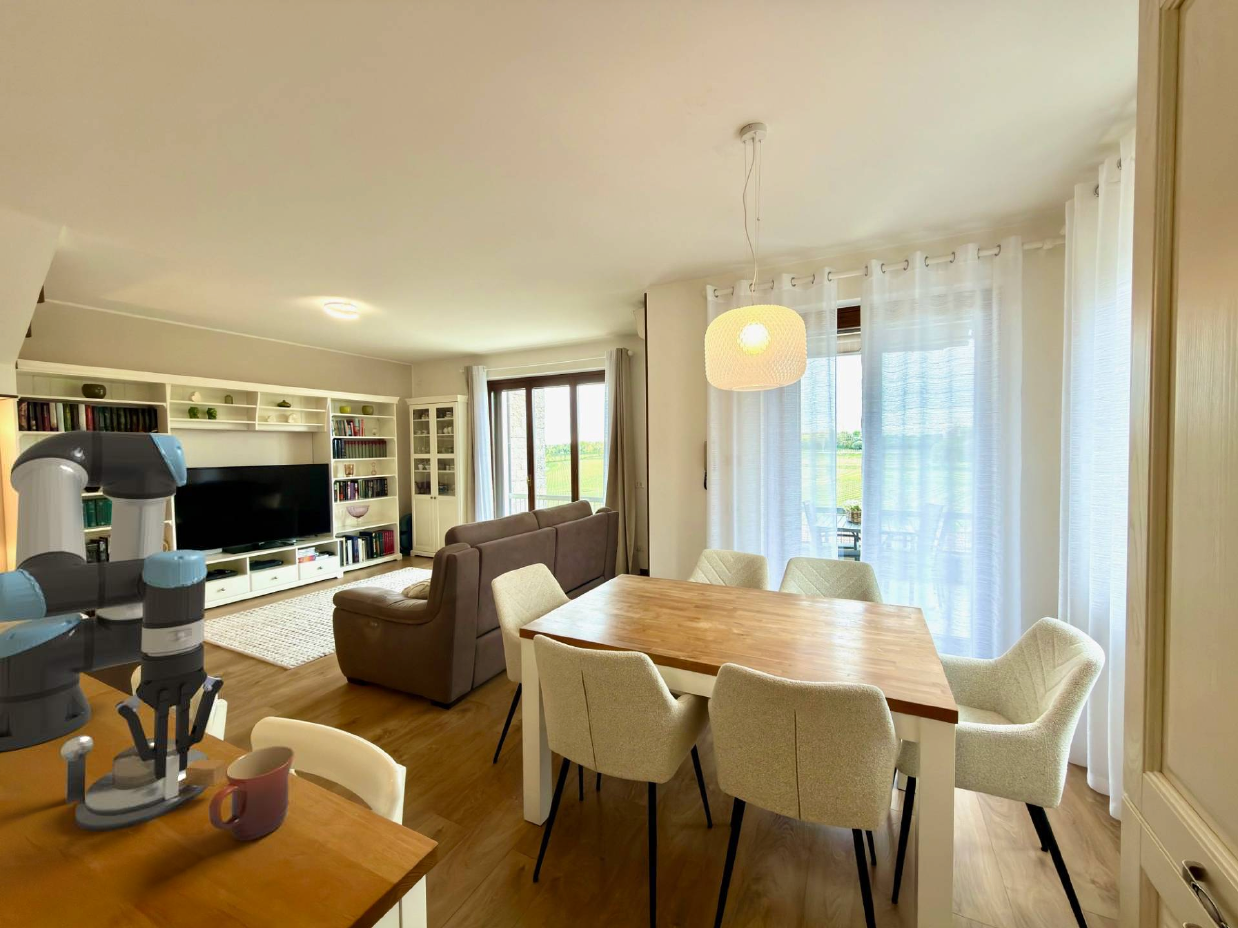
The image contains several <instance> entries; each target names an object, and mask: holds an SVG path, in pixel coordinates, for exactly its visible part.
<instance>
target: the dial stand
mask: <svg viewBox="0 0 1238 928" xmlns="http://www.w3.org/2000/svg"><path fill="white" fill-rule="evenodd" d="M93 748H94V741H93V738H92V737H91V736H89V735H87V734H79V735H76V736H73V737H72V738H68V739H67V740H66V742H64V743H63V745H62V746H61V748H60V755H61V758H62V760H65V761H66V772H65V773H66V775H65V776H66V779H65V781H66V782H65V783H66V784H65V802H66V804H67V805H69V804H71V803H74V802H77V801H80V800H81V799H82V798H83V797H84V796H85V794H86V791H85V790H86V761H87V759H86V758H87V756H88V755H89V754H90V752H92V750H93Z"/></svg>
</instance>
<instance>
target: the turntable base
mask: <svg viewBox="0 0 1238 928" xmlns="http://www.w3.org/2000/svg"><path fill="white" fill-rule="evenodd" d="M207 760H211V759H210V758H208V757H207ZM207 788H209V786H190V787H189V788H187V789H185V790H184V791H182V792H180V793H179V794H178V795H177V796H174V797H172V798H169V799H167V800H164V801H162V802H159V803H157V804H154V805H151V806H148V807H145V808H142V809H138V810H135V811H131V812H126V813H120V814H112V815H98V814H93V813H90V812H88V811H87V810H86V808H85V796H84V797H83V798H82V799H80V800H79V801H78V803H77V805H76V806H75V819H74V820H75V824H76V826H77V827H78V828H79V829H82V830H84V831H90V832H107V831H116V830H120V829H126V828H129V827H133V826H136V825H140V824H143V823H146V822H150V821H152V820H155V819H157V818H160V817H162V816H165V815H166V814H169V813H172V812H173V811H175V810H177V809H180V807H182V806H184V805H186V804H188V803H189V802H190V801H192V800H194V799H196V797H198V796H199V795H200V794H201V793H203V792H204V791H205V790H206V789H207Z"/></svg>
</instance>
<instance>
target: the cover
mask: <svg viewBox="0 0 1238 928" xmlns="http://www.w3.org/2000/svg"><path fill="white" fill-rule="evenodd" d="M146 739H147V742H148V745H149V748H154V737H150V738H146ZM172 749H176V746H175V739H174V738H170V737H169V738H168V744H167V751H169V750H172ZM112 771H113V777H112V786H113V788H115V789H117V790H129V789H135V788H140V787H143V786H146V785H149V784H152V783H154V782H157V781H159V780H161V779H159V780H157V779H156V777H155V775H154V760H148V761H142V760H141V758H140V756H139V754H138V752H137V749H136V746H135V744H134V745H133V746H130V747H128V748H126V749H124V750H122V751H120V752H119V753H118V754H117V755H115V756H114V757H113V759H112Z"/></svg>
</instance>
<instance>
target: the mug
mask: <svg viewBox="0 0 1238 928" xmlns="http://www.w3.org/2000/svg"><path fill="white" fill-rule="evenodd" d="M294 758H295V750H294V749H293V748H291V746H286V745H273V746H266V747H261V748H258V749H255V750H252V751H250V752H247V753H246V754H245V753H244V754H243V755H242V756H240V757H238V758H236V759H235V760H234V761H232V762H231V763H230V764H229V765H228V766H227V767H226V780H227V781H228V784H226V785H225V786H224V787H223V788H221V789H220V790H219V791H218V792H216V794H214V796H213V797H212V799H211V800H210V803H209V807H208V818H209V821H210V825H212V827H214V828H215V829H217V830H220V831H222V830H230V831H231V834H232V835H231V836H232V837H234V839H237V840H242V841H253V840H256V839H259V838H262V837H265V836H266V835H268V834H270V833H272V832H273V831H274V830H276V829H277V828H278V827H279V826H280V825H281V824H282V823H283V822H284V821H285V820H286V817H287V813H288V810H289V805H290V802H289V801H290V800H289V799H290V796H289V795H290V794H289V791H290V790H289V789H290V788H289V787H290V786H289V777H290V776H289V775H290V771H291V770H290V769H291V767H292V763H293V761H294ZM229 795H231V797H230V798H231V801H230V817H228V818H227V819H226V820H225V821H224V820H223V818H222V811H221V810H222V803H223V801H224V799H226V798H227V797H228V796H229Z"/></svg>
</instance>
